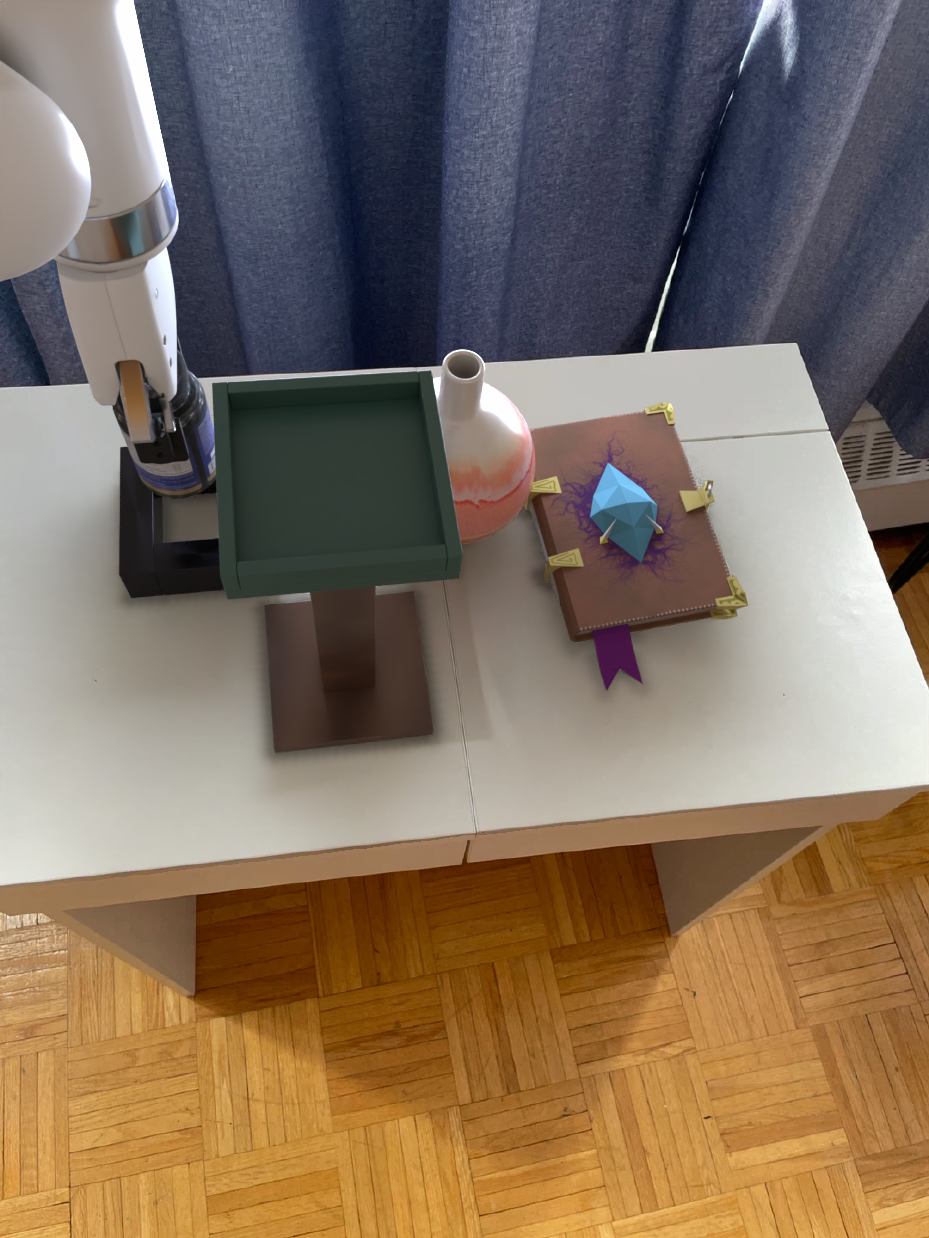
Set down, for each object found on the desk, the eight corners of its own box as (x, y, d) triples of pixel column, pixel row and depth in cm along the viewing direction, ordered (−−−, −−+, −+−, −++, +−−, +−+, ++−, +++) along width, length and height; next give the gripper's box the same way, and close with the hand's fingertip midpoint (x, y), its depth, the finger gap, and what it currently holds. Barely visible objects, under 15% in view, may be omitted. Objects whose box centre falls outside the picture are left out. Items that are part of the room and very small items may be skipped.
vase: (498, 426, 86) (526, 280, 70) (544, 552, 80) (586, 425, 64) (351, 453, 83) (346, 307, 67) (389, 585, 78) (393, 461, 62)
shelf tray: (227, 600, 48) (220, 577, 45) (218, 411, 53) (211, 382, 50) (459, 579, 49) (463, 555, 47) (429, 398, 54) (432, 369, 52)
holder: (130, 598, 75) (118, 575, 71) (131, 474, 80) (119, 446, 76) (282, 585, 77) (277, 561, 73) (273, 464, 82) (268, 436, 78)
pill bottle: (182, 421, 72) (151, 316, 62) (240, 465, 70) (218, 365, 61) (120, 470, 69) (78, 369, 59) (179, 517, 68) (146, 421, 58)
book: (576, 701, 75) (586, 678, 71) (507, 451, 85) (511, 417, 81) (767, 664, 77) (788, 640, 73) (677, 424, 87) (690, 389, 83)
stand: (275, 752, 71) (227, 600, 48) (266, 611, 76) (218, 411, 53) (432, 734, 72) (459, 579, 49) (413, 597, 77) (429, 398, 54)
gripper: (31, 90, 52) (110, 326, 68) (13, 326, 44) (106, 528, 60) (171, 90, 53) (216, 322, 69) (176, 320, 45) (225, 520, 61)
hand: (164, 416), depth 64 cm, fingers closed on pill bottle, 6 cm apart
